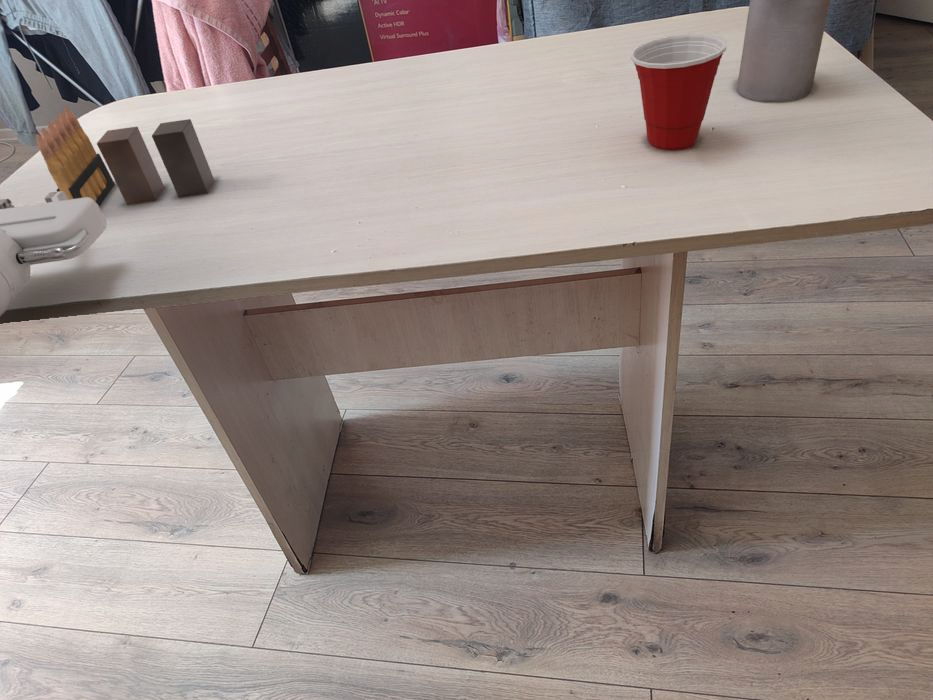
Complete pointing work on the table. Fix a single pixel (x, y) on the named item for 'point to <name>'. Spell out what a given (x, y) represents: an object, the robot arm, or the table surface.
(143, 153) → the walnut block
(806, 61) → the pillar candle
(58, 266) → the table surface
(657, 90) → the plastic cup
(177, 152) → the dark gray block
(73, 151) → the ammunition clip
